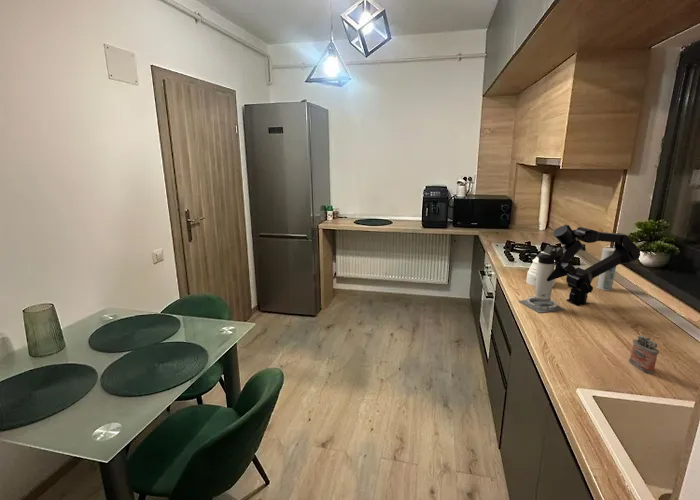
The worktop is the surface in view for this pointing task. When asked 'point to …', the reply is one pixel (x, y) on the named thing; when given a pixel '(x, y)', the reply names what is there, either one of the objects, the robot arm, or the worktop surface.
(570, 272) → the robot arm
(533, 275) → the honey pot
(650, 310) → the worktop surface
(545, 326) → the worktop surface
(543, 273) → the travel mug
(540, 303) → the base mat
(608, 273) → the spray can
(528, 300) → the metal collar
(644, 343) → the red and grey container
